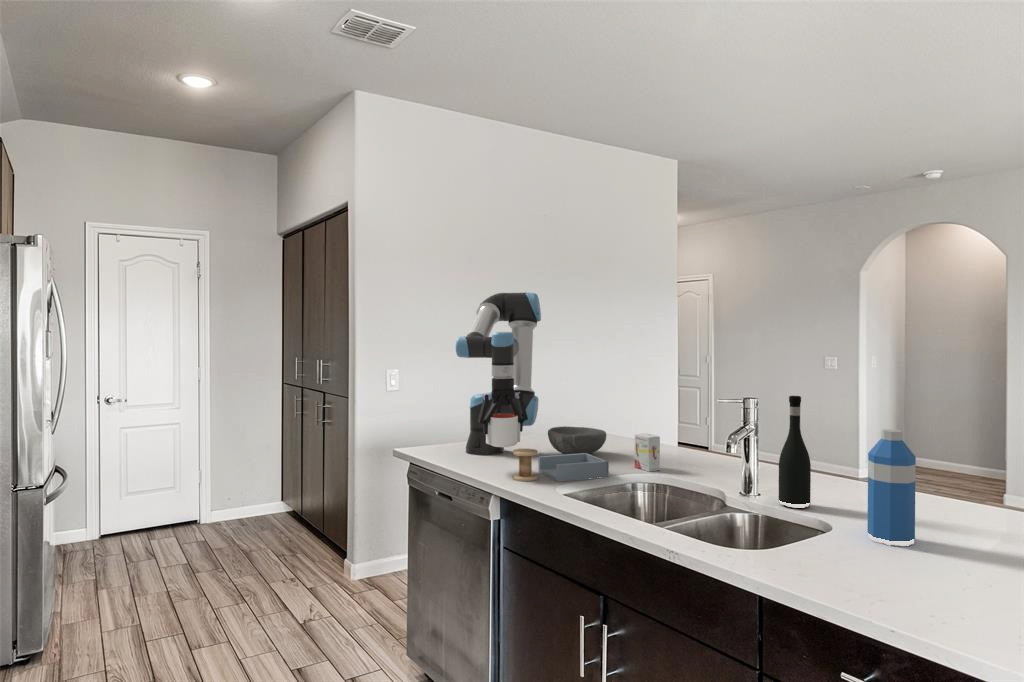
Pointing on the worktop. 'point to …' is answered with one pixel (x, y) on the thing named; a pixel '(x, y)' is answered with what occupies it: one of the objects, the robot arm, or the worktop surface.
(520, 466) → the bobbin
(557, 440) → the bowl
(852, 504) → the worktop surface
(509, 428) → the cup
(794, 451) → the wine bottle
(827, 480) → the worktop surface
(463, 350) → the robot arm
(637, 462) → the ink box
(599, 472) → the notch board
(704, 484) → the worktop surface
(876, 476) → the water bottle
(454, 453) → the worktop surface
